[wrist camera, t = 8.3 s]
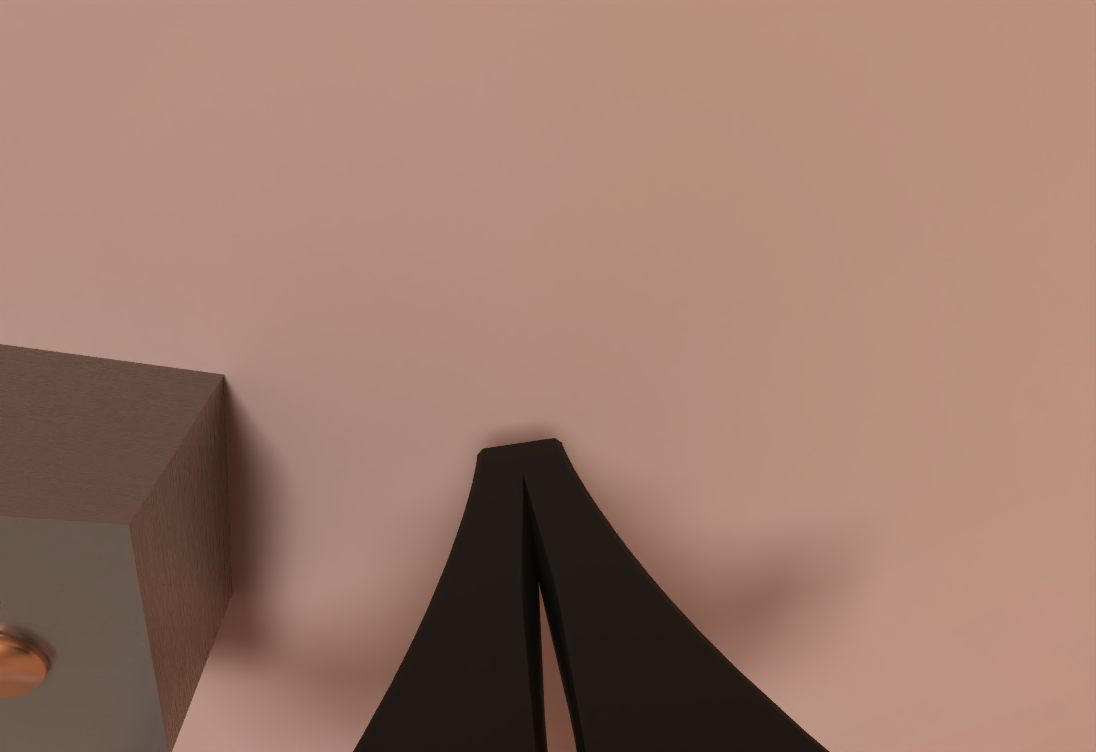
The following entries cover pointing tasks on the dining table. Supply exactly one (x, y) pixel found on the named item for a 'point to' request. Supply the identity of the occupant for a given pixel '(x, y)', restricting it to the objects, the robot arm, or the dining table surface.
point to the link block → (107, 549)
